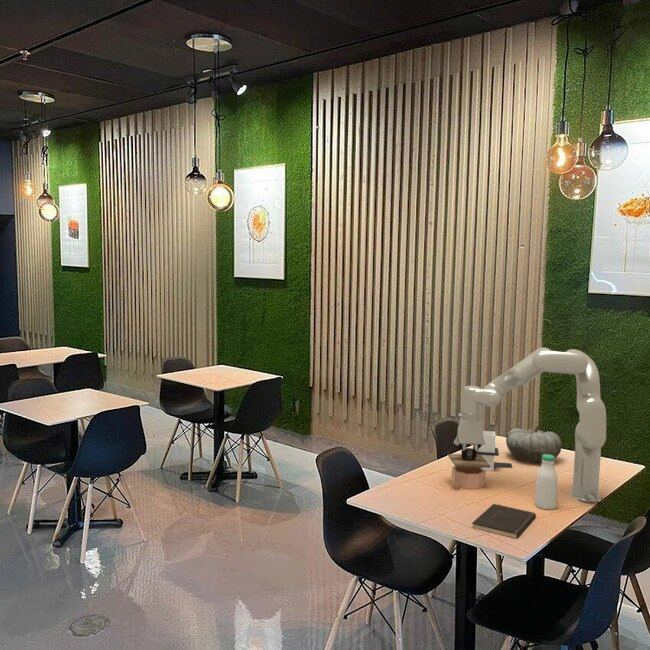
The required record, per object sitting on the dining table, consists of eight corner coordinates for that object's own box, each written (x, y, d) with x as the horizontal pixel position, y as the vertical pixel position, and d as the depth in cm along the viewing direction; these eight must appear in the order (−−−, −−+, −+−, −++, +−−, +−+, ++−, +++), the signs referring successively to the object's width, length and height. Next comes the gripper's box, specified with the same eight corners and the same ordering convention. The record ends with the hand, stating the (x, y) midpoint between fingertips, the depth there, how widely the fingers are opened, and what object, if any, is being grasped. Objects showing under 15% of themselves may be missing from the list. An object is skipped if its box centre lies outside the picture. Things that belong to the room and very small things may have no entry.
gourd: (543, 466, 294) (541, 427, 295) (495, 462, 312) (494, 425, 314) (571, 461, 310) (569, 424, 312) (524, 458, 329) (522, 423, 330)
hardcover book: (471, 529, 229) (471, 522, 229) (493, 509, 248) (493, 503, 248) (517, 540, 221) (517, 533, 220) (535, 519, 240) (536, 513, 240)
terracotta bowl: (487, 491, 267) (488, 474, 266) (456, 490, 266) (457, 474, 266) (478, 480, 279) (479, 464, 279) (449, 480, 279) (450, 464, 278)
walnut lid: (490, 467, 265) (491, 455, 265) (456, 467, 265) (456, 454, 264) (480, 456, 279) (481, 444, 279) (447, 455, 279) (448, 443, 278)
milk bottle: (556, 511, 246) (558, 459, 244) (534, 508, 249) (537, 457, 247) (556, 504, 254) (559, 454, 252) (535, 501, 256) (538, 451, 254)
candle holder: (458, 459, 310) (459, 425, 309) (511, 463, 305) (512, 428, 304) (457, 474, 286) (459, 437, 285) (515, 479, 281) (517, 441, 280)
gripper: (453, 417, 266) (451, 461, 268) (493, 418, 267) (490, 462, 269) (449, 413, 273) (447, 456, 275) (487, 414, 274) (485, 457, 276)
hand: (468, 459), depth 272 cm, fingers closed on walnut lid, 3 cm apart
